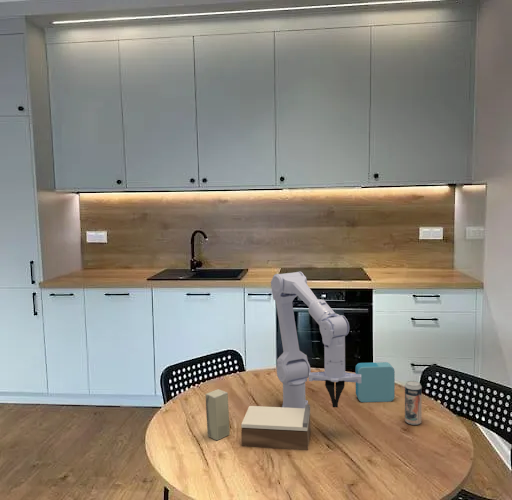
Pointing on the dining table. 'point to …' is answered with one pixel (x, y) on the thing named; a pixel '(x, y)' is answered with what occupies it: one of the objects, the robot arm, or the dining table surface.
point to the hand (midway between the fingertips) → (335, 405)
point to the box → (217, 414)
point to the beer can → (413, 402)
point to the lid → (277, 418)
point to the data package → (375, 382)
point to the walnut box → (276, 438)
